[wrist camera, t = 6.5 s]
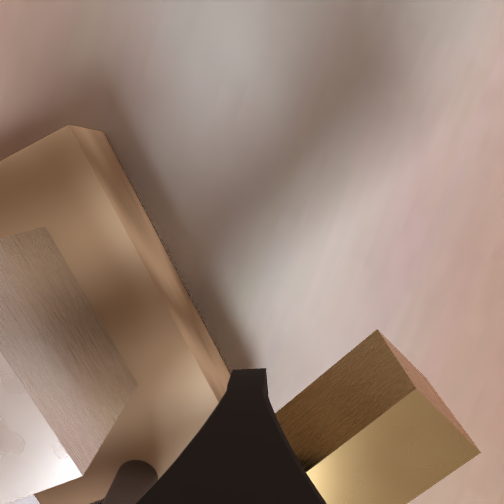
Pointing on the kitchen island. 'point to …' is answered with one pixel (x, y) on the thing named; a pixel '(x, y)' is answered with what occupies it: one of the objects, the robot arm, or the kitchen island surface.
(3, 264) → the white boxy block
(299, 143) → the kitchen island surface
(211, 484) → the robot arm
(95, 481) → the base
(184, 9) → the kitchen island surface
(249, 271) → the kitchen island surface
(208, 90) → the kitchen island surface
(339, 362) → the wooden block
